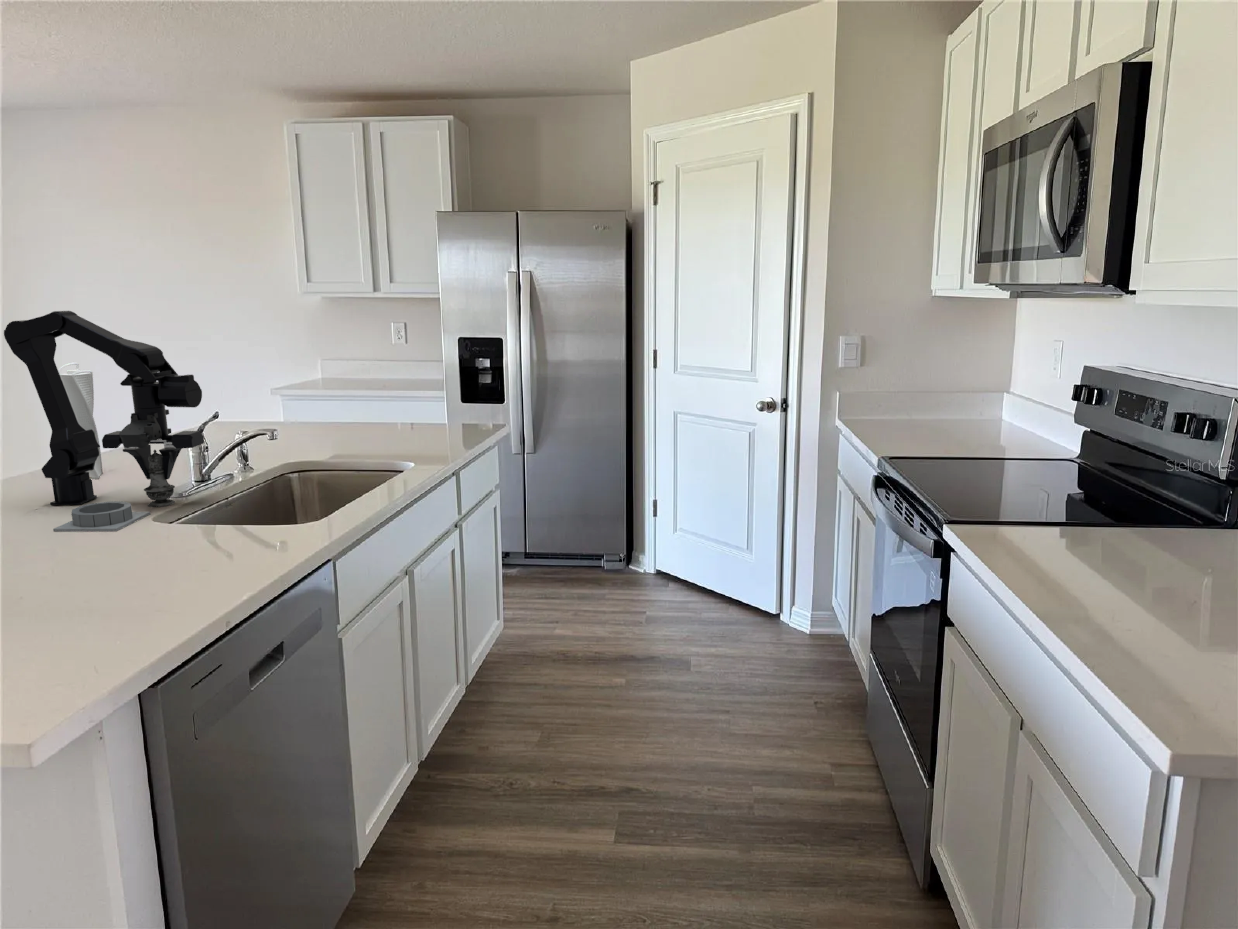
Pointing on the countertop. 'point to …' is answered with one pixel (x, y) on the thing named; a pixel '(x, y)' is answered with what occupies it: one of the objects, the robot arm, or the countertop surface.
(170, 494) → the salt shaker
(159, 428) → the robot arm
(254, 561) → the countertop surface
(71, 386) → the skyscraper
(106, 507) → the collar
